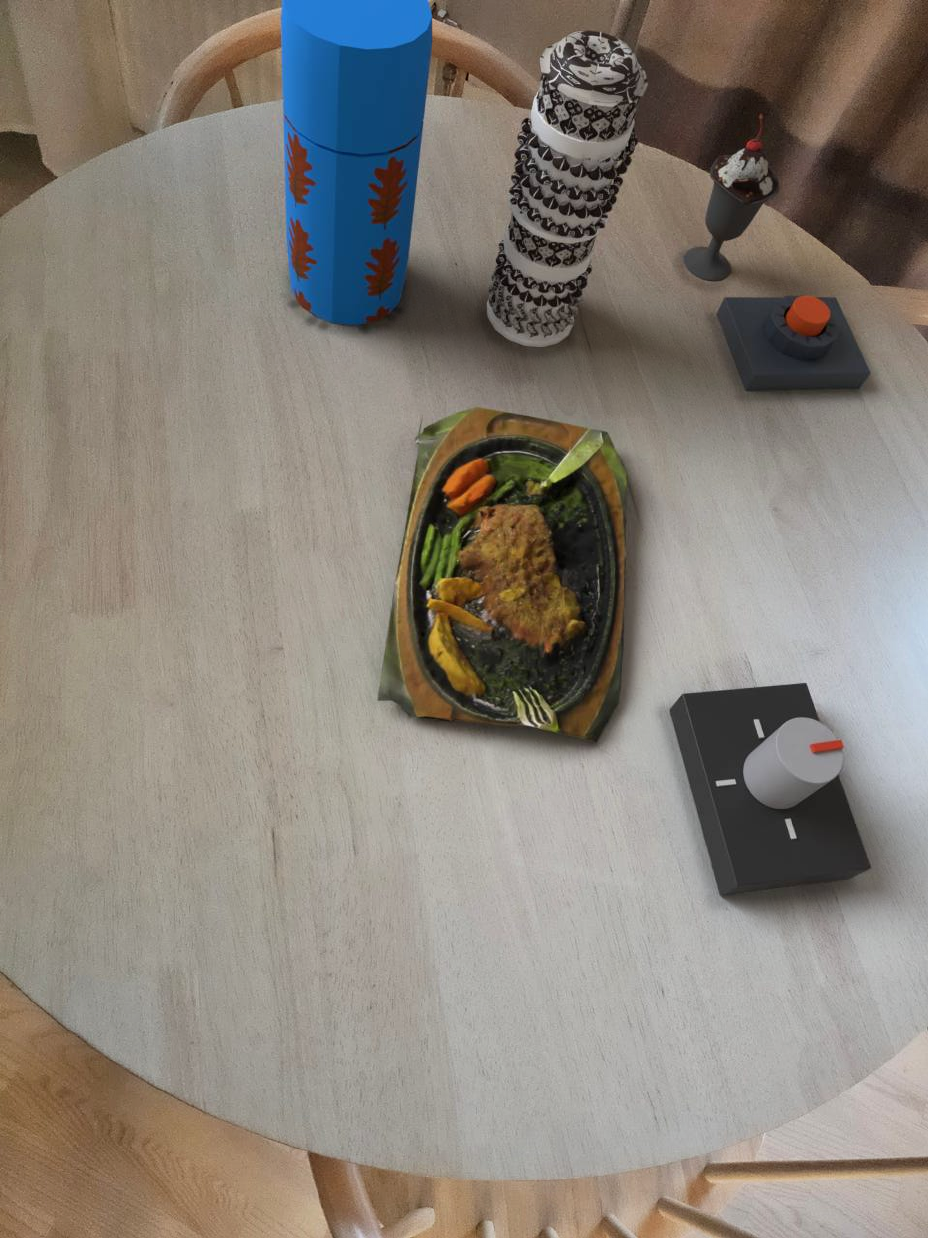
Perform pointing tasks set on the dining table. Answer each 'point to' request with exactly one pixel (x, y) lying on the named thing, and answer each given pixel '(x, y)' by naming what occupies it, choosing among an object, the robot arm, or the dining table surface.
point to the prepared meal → (511, 576)
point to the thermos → (352, 149)
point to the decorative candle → (564, 184)
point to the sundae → (732, 205)
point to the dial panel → (740, 824)
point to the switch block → (789, 347)
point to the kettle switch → (808, 316)
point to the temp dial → (793, 763)
